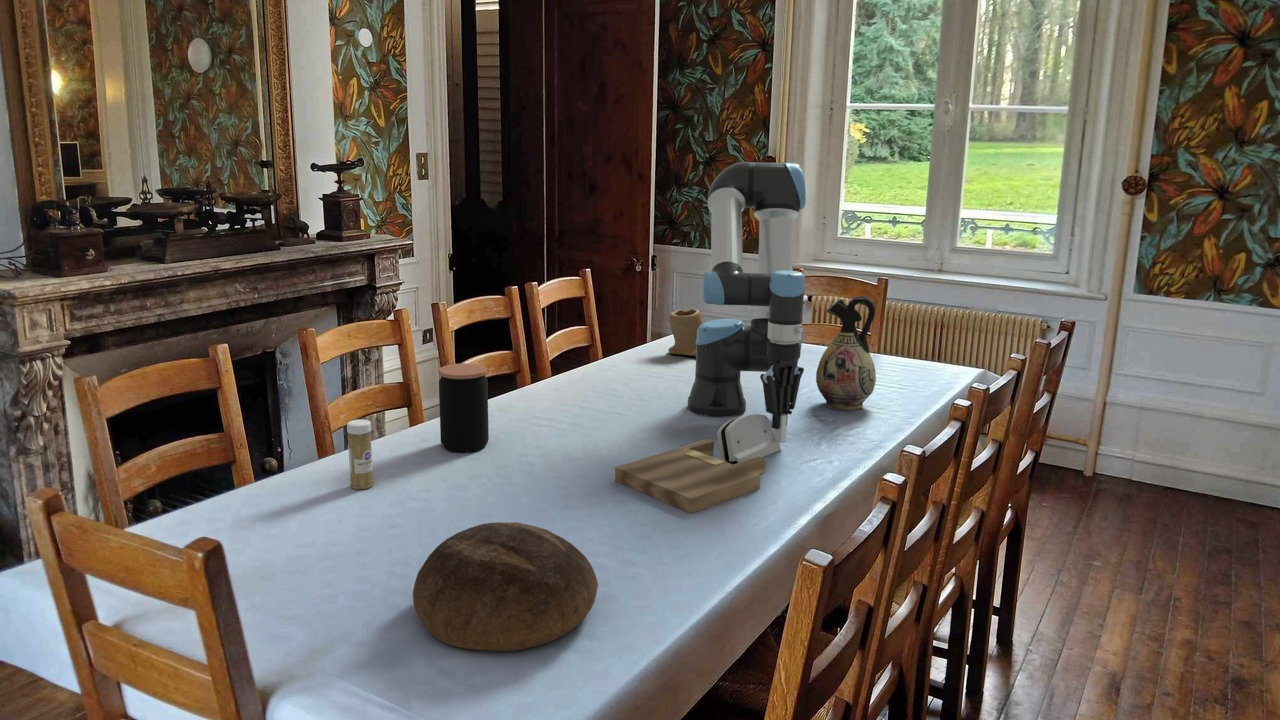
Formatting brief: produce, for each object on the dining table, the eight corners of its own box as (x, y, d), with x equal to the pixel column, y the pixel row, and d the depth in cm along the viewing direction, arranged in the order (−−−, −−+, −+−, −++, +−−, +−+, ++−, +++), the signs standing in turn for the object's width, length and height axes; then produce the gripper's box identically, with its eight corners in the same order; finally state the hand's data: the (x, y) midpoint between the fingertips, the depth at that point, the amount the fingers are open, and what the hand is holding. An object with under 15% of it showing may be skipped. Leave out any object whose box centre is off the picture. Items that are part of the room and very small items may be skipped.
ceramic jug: (808, 410, 249) (815, 296, 241) (820, 395, 262) (828, 287, 255) (874, 418, 242) (884, 302, 235) (883, 403, 256) (892, 293, 249)
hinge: (739, 467, 205) (728, 422, 205) (722, 469, 209) (711, 425, 209) (781, 449, 218) (771, 406, 218) (765, 451, 221) (755, 409, 221)
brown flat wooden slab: (613, 480, 197) (613, 465, 196) (707, 451, 215) (707, 438, 214) (690, 513, 181) (691, 497, 180) (784, 479, 199) (785, 464, 198)
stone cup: (661, 356, 303) (662, 310, 299) (677, 349, 313) (678, 304, 310) (704, 362, 296) (706, 315, 293) (719, 354, 307) (721, 309, 303)
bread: (519, 681, 126) (518, 590, 122) (378, 622, 140) (373, 539, 136) (628, 602, 147) (629, 523, 144) (495, 558, 161) (494, 485, 158)
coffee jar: (497, 442, 218) (496, 366, 214) (470, 456, 209) (469, 377, 204) (459, 435, 223) (457, 361, 218) (431, 449, 213) (428, 371, 209)
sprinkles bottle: (365, 491, 188) (362, 426, 185) (345, 488, 189) (341, 424, 186) (378, 483, 192) (375, 420, 189) (358, 480, 194) (355, 417, 190)
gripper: (778, 347, 206) (773, 451, 211) (815, 339, 214) (809, 439, 220) (752, 341, 211) (747, 442, 217) (789, 334, 220) (783, 431, 225)
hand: (778, 441), depth 218 cm, fingers closed
